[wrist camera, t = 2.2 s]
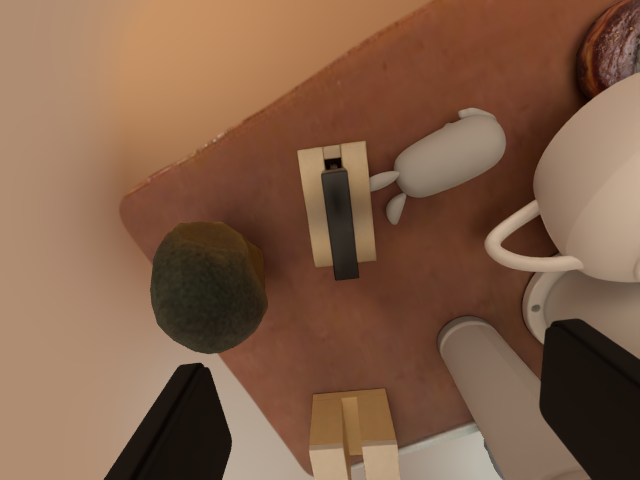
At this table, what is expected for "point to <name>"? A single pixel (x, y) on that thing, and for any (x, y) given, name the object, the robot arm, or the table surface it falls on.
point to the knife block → (359, 185)
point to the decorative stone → (208, 286)
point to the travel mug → (504, 402)
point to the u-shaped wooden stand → (353, 435)
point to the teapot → (587, 192)
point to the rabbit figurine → (444, 159)
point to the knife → (340, 222)
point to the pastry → (610, 49)
